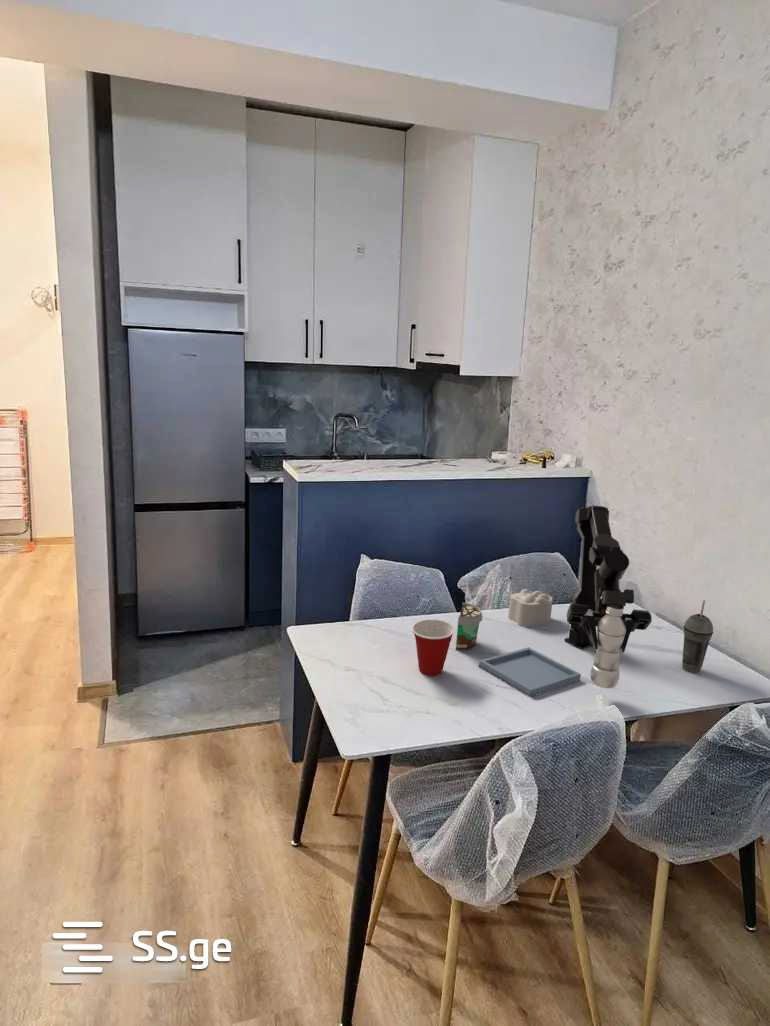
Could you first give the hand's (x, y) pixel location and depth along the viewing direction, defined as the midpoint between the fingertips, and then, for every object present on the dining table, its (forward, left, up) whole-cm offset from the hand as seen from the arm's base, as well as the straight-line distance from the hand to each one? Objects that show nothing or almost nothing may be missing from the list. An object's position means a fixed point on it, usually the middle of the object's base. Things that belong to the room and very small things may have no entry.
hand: (609, 650), depth 163 cm
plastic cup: (+27, -32, -13) cm, 44 cm away
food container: (+7, -40, -13) cm, 43 cm away
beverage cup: (-37, 0, -13) cm, 39 cm away
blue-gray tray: (+5, -19, -13) cm, 24 cm away
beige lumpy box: (-23, -45, -13) cm, 53 cm away
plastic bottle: (-1, -1, -10) cm, 10 cm away
